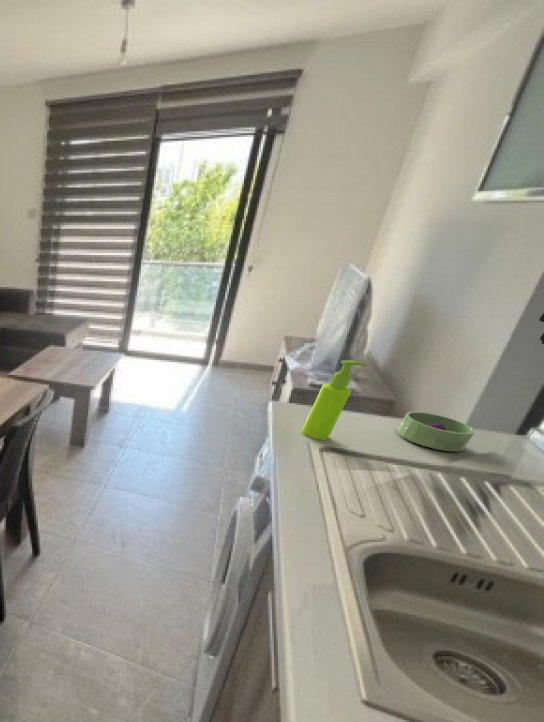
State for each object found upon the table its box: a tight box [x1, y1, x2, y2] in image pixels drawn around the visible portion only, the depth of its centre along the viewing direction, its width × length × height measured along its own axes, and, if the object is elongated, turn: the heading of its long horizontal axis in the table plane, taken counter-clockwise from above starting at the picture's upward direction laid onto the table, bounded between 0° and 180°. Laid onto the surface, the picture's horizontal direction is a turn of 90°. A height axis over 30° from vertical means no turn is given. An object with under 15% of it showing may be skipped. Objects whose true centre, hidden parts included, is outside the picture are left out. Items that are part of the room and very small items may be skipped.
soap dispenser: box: [301, 359, 368, 441], centre depth 120 cm, size 6×7×20 cm
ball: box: [427, 423, 446, 431], centre depth 124 cm, size 4×4×4 cm
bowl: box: [396, 411, 476, 452], centre depth 124 cm, size 13×13×6 cm
